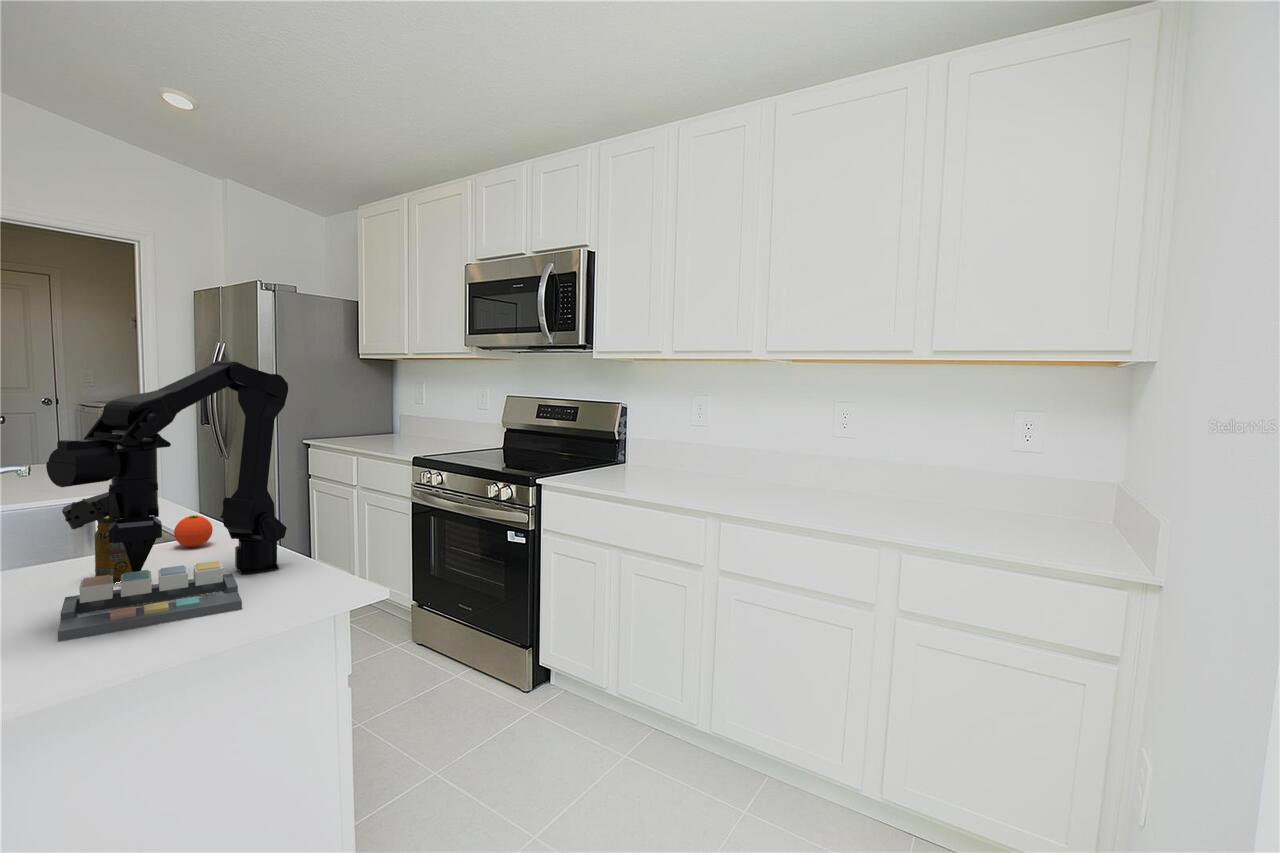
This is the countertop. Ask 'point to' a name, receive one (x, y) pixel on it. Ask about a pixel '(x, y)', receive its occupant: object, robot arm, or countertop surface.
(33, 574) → the countertop surface
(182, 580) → the key slate
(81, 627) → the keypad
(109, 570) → the condiment
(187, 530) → the clementine
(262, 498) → the robot arm
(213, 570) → the key mustard
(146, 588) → the key teal
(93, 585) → the block
